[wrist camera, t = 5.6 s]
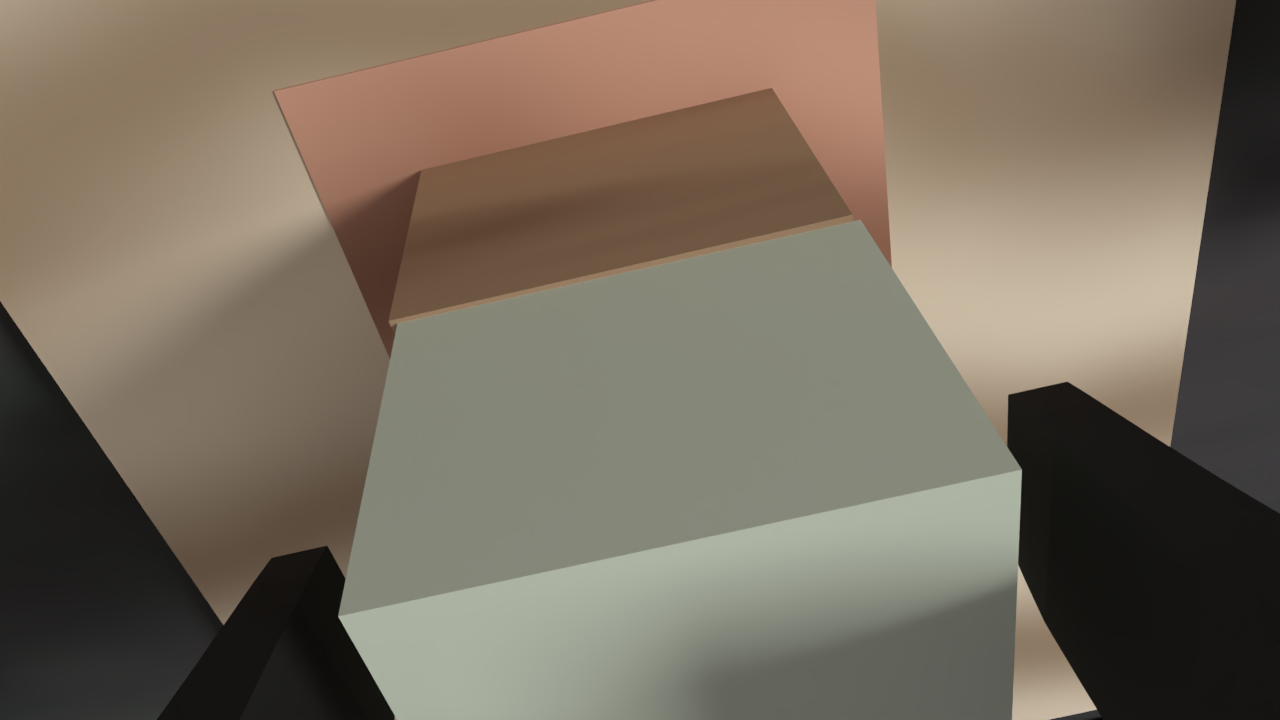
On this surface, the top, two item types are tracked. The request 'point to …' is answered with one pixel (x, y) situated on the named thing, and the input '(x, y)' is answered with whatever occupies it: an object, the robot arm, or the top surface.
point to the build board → (539, 111)
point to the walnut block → (610, 204)
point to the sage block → (689, 503)
